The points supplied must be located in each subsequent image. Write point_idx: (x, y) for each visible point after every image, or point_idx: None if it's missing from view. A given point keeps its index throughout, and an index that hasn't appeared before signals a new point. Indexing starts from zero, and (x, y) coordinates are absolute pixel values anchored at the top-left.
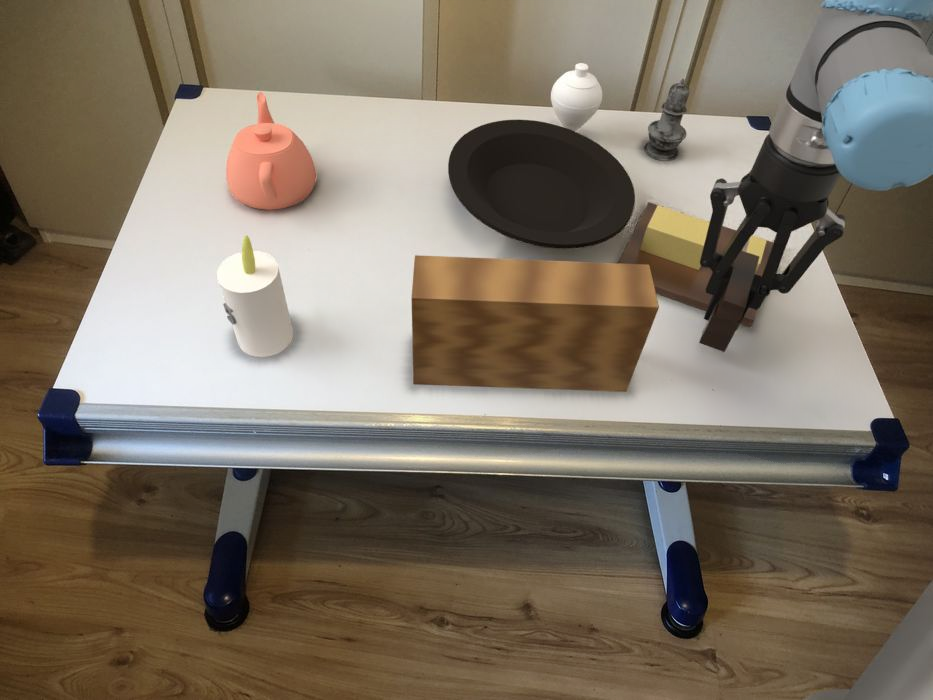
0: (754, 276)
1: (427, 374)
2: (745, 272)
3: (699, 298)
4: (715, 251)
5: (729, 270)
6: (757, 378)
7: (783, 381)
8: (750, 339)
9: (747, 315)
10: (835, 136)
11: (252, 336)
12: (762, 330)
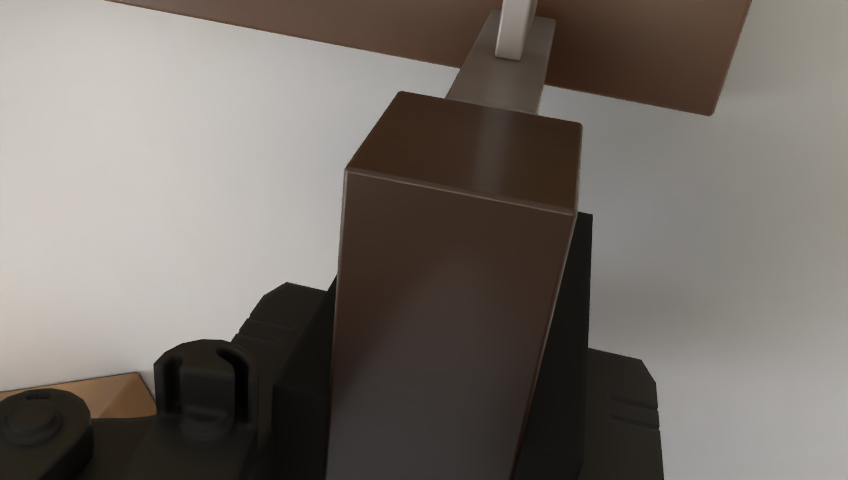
0: (518, 472)
1: None
2: (435, 446)
3: (371, 29)
4: (72, 456)
5: (302, 444)
6: (702, 400)
7: (831, 396)
8: (694, 186)
9: (672, 83)
10: None
11: None
12: (779, 101)
